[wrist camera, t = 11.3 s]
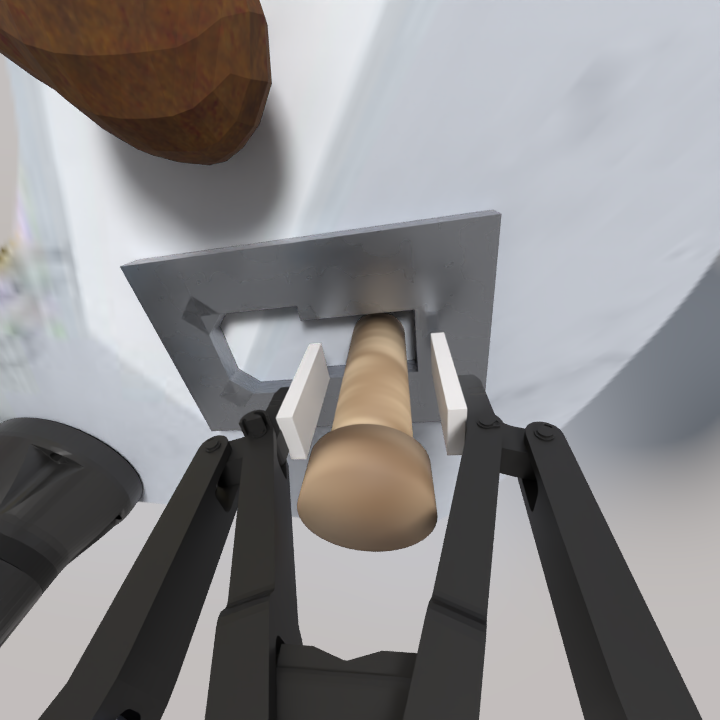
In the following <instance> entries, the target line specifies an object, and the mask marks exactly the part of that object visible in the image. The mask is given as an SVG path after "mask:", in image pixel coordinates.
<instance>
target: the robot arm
mask: <svg viewBox="0 0 720 720" xmlns="http://www.w3.org/2000/svg"><path fill="white" fill-rule="evenodd" d="M431 368H432V377H433V382H434V387H435V392H436V398H437V403H438V408H439V414H440V419H441V424H442V430H443V435H444V440H445V445H446V451H447V455H462V458H461V462H460V467H459V472H458V477H457V481H456V486H455V491H454V495H453V500H452V505H451V510H450V514H449V519H448V524H447V529H446V534H445V538H444V543H443V548H442V553H441V557H440V562H439V566H438V571H437V576H436V581H435V586H434V590H433V594H432V598H431V599H430V601H429V604H428V608H427V612H426V616H425V620H424V625H423V630H422V634H421V639H420V644H419V648H418V653H405V652H392V651H380V652H376V653H373V654H370V655H366V656H362V657H359V658H355V659H352V660H348V661H345V660H342V659H340V658H338V657H335V656H333V655H331V654H329V653H327V652H325V651H322V650H320V649H318V648H316V647H314V646H304V645H303V644H302V638H301V634H300V630H299V625H298V613H297V596H296V580H295V564H294V548H293V533H292V532H293V531H292V515H291V499H290V483H289V466H288V463H287V460H286V458H287V455H288V453H290V456H291V459H307V457H308V453H309V450H310V446H311V443H312V439H313V436H314V432H315V429H316V425H317V422H318V418H319V415H320V411H321V408H322V404H323V401H324V397H325V394H326V390H327V387H328V383H329V380H330V377H329V373H328V369H327V365H326V361H325V357H324V353H323V348H322V344H321V343H313V344H309V346H308V348H307V350H306V352H305V354H304V357H303V359H302V361H301V363H300V366H299V368H298V370H297V372H296V374H295V377H294V379H293V381H292V383H291V385H290V387H281V388H280V389H279V390H278V391H277V392H275V393H274V395H273V397H272V399H271V401H270V403H269V405H268V407H267V409H266V411H264V410H254V411H251V412H249V413H247V414H246V415H244V416H243V417H242V418H241V419H240V421H239V425H240V428H241V430H242V432H243V434H244V436H245V437H242V438H239V439H236V440H233V441H228V439H227V437H225V436H220V435H218V436H214V437H212V438H210V439H208V440H206V441H205V442H204V443H203V444H202V445H201V446H200V447H199V449H198V451H197V453H196V454H195V456H194V458H193V460H192V462H191V463H190V465H189V467H188V469H187V470H186V472H185V474H184V476H183V478H182V479H181V481H180V483H179V485H178V486H177V488H176V490H175V492H174V494H173V495H172V497H171V499H170V501H169V502H168V504H167V506H166V508H165V510H164V511H163V513H162V515H161V517H160V518H159V520H158V522H157V524H156V526H155V527H154V529H153V531H152V533H151V534H150V536H149V538H148V540H147V542H146V543H145V545H144V547H143V549H142V551H141V552H140V554H139V556H138V558H137V559H136V561H135V563H134V565H133V567H132V569H131V570H130V572H129V574H128V575H127V577H126V579H125V581H124V582H123V584H122V586H121V588H120V590H119V591H118V593H117V595H116V597H115V598H114V600H113V602H112V604H111V606H110V608H109V609H108V611H107V613H106V615H105V616H104V618H103V620H102V622H101V624H100V625H99V627H98V629H97V631H96V632H95V634H94V636H93V638H92V639H91V641H90V643H89V645H88V647H87V648H86V650H85V652H84V654H83V655H82V657H81V659H80V661H79V663H78V664H77V666H76V668H75V670H74V672H73V673H72V675H71V677H70V679H69V680H68V682H67V684H66V685H65V686H64V687H63V689H62V690H61V691H60V692H59V694H58V695H57V696H56V698H55V699H54V700H53V701H52V703H51V704H50V705H49V706H48V708H47V709H46V710H45V711H44V713H43V714H42V715H41V717H40V718H39V719H38V720H160V719H161V717H162V715H163V713H164V711H165V708H166V706H167V704H168V701H169V699H170V697H171V694H172V691H173V689H174V686H175V684H176V681H177V678H178V675H179V673H180V670H181V667H182V664H183V661H184V658H185V656H186V653H187V650H188V647H189V644H190V641H191V638H192V636H193V633H194V630H195V627H196V624H197V621H198V619H199V616H200V613H201V610H202V607H203V604H204V601H205V599H206V596H207V593H208V590H209V587H210V584H211V582H212V579H213V576H214V573H215V570H216V567H217V565H218V562H219V559H220V556H221V553H222V550H223V547H224V545H225V542H226V539H227V536H228V533H229V530H230V527H231V525H232V522H233V519H234V516H235V513H236V510H237V519H236V528H235V538H234V548H233V558H232V567H231V577H230V587H229V596H228V603H227V607H226V608H225V609H224V610H223V611H221V613H220V615H219V617H218V621H217V626H216V634H215V641H214V649H213V657H212V665H211V674H210V683H209V690H208V698H207V706H206V714H205V720H479V712H480V700H481V688H482V677H483V666H484V654H485V642H486V628H487V608H488V598H489V586H490V575H491V562H492V552H493V541H494V530H495V518H496V507H497V495H498V484H499V473H502V474H506V475H510V476H514V477H518V481H519V484H520V488H521V492H522V496H523V499H524V503H525V506H526V510H527V514H528V517H529V521H530V524H531V528H532V532H533V535H534V539H535V542H536V546H537V550H538V553H539V557H540V560H541V564H542V568H543V571H544V574H545V579H546V582H547V586H548V589H549V593H550V597H551V600H552V604H553V607H554V611H555V614H556V618H557V622H558V626H559V629H560V632H561V636H562V640H563V644H564V647H565V651H566V654H567V658H568V662H569V665H570V669H571V672H572V676H573V680H574V683H575V687H576V690H577V694H578V697H579V701H580V705H581V708H582V712H583V715H584V719H585V720H702V718H701V716H700V714H699V712H698V710H697V708H696V705H695V703H694V701H693V699H692V697H691V695H690V693H689V691H688V689H687V687H686V685H685V683H684V681H683V679H682V677H681V675H680V673H679V670H678V669H677V666H676V664H675V662H674V660H673V658H672V656H671V654H670V652H669V650H668V648H667V646H666V644H665V642H664V640H663V638H662V635H661V633H660V631H659V629H658V627H657V625H656V623H655V621H654V619H653V617H652V615H651V613H650V611H649V609H648V607H647V605H646V603H645V601H644V599H643V596H642V594H641V593H640V590H639V588H638V586H637V584H636V582H635V580H634V578H633V576H632V574H631V572H630V570H629V568H628V566H627V564H626V562H625V559H624V558H623V555H622V553H621V551H620V549H619V547H618V545H617V543H616V541H615V539H614V537H613V535H612V533H611V531H610V528H609V526H608V524H607V522H606V520H605V518H604V516H603V514H602V512H601V510H600V508H599V506H598V504H597V502H596V500H595V498H594V496H593V494H592V491H591V490H590V488H589V485H588V483H587V481H586V479H585V477H584V475H583V473H582V471H581V469H580V467H579V465H578V463H577V461H576V459H575V456H574V454H573V452H572V450H571V448H570V447H569V445H568V442H567V440H566V438H565V436H564V435H563V433H562V431H561V430H560V429H559V428H557V427H556V426H554V425H552V424H549V423H545V422H533V423H531V424H529V425H527V427H526V428H525V429H524V428H518V427H513V426H510V425H507V424H505V423H503V422H502V420H501V419H500V418H499V417H497V416H496V415H495V414H494V412H493V409H492V407H491V404H490V402H489V399H488V397H487V394H486V392H485V389H484V387H483V384H482V382H481V380H480V379H479V378H478V377H476V376H475V375H474V374H471V375H457V373H456V370H455V367H454V364H453V360H452V357H451V354H450V350H449V347H448V344H447V341H446V337H445V334H444V332H442V333H431ZM141 495H142V484H141V481H140V479H139V477H138V475H137V473H136V472H135V471H134V469H133V468H132V467H131V466H130V464H129V463H128V462H127V461H126V460H125V459H124V458H122V457H121V456H120V455H119V454H118V453H117V452H115V451H114V450H113V449H111V448H110V447H108V446H107V445H105V444H104V443H102V442H101V441H99V440H97V439H95V438H94V437H92V436H90V435H88V434H86V433H84V432H81V431H79V430H77V429H74V428H72V427H69V426H66V425H63V424H60V423H57V422H53V421H49V420H44V419H38V418H14V419H10V420H7V421H4V422H3V423H1V424H0V647H1V646H2V645H3V643H4V642H5V641H6V640H7V639H8V637H9V636H10V635H11V633H12V632H13V631H14V630H15V628H16V627H17V626H18V625H19V623H20V622H21V621H22V619H23V618H24V617H25V616H26V614H27V613H28V612H29V611H30V609H31V608H32V607H33V606H34V604H35V603H36V602H37V601H38V599H39V598H40V597H41V596H42V594H43V593H44V591H45V590H46V589H47V588H48V587H49V585H50V584H51V583H52V582H53V580H54V579H55V578H56V577H57V576H58V574H59V573H60V572H61V571H62V570H63V568H64V567H66V565H68V564H69V563H70V562H71V561H73V560H74V559H75V558H76V557H78V556H79V555H80V554H81V553H82V552H84V551H85V550H86V549H87V548H89V547H90V546H91V545H92V544H94V543H95V542H96V541H97V540H99V539H100V538H101V537H102V536H104V535H105V534H106V533H107V532H108V531H109V530H110V529H112V528H113V527H114V526H115V525H117V524H119V522H121V521H122V520H123V519H124V518H125V517H126V516H127V515H128V514H129V513H130V511H131V510H132V509H133V507H134V506H135V505H136V503H137V502H138V501H139V499H140V498H141ZM237 508H238V509H237Z"/></svg>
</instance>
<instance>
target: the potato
mask: <svg viewBox="0 0 720 720" xmlns="http://www.w3.org/2000/svg"><path fill="white" fill-rule="evenodd" d="M0 53H1V54H3V55H4V56H6V57H7V58H8V59H10V60H11V61H12V62H14V63H15V64H17V65H18V66H19V67H21V68H22V69H24V70H25V71H26V72H28V73H29V74H30V75H32V76H33V77H35V78H36V79H38V80H40V81H41V82H43V83H44V84H46V85H48V86H49V87H51V88H53V89H54V90H56V91H57V92H58V93H59V94H60V95H61V96H62V97H64V98H65V99H66V100H67V101H68V102H70V103H71V104H72V105H73V106H75V107H76V108H77V109H79V110H80V111H81V112H82V113H84V114H85V115H86V116H87V117H89V118H90V119H91V120H92V121H94V122H95V123H96V124H97V125H99V126H100V127H101V128H103V129H104V130H106V131H108V132H109V133H111V134H113V135H114V136H116V137H118V138H119V139H121V140H123V141H125V142H126V143H128V144H130V145H131V146H133V147H135V148H137V149H138V150H141V151H144V152H146V153H149V154H151V155H154V156H158V157H161V158H165V159H169V160H173V161H176V162H183V163H192V164H202V165H213V164H217V163H221V162H225V161H227V160H228V159H230V158H231V157H232V156H233V155H235V154H236V153H237V152H238V151H240V150H241V149H242V148H243V147H244V146H245V144H246V143H247V141H248V140H249V138H250V137H251V136H252V134H253V133H254V131H255V130H256V128H257V127H258V125H259V124H260V120H261V117H262V114H263V110H264V107H265V104H266V100H267V97H268V94H269V90H270V87H271V84H272V80H271V67H270V53H269V39H268V25H267V22H266V19H265V16H264V13H263V10H262V7H261V4H260V1H259V0H0Z"/></svg>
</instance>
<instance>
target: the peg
mask: <svg viewBox="0 0 720 720" xmlns="http://www.w3.org/2000/svg"><path fill="white" fill-rule="evenodd" d="M297 510H298V514H299V517H300V518H301V520H302V522H303V523H304V524H305V526H306V527H307V528H308V529H309V530H311V531H312V532H313V533H314V534H316V535H317V536H319V537H320V538H322V539H324V540H326V541H328V542H331V543H333V544H335V545H339V546H341V547H345V548H349V549H355V550H361V551H373V552H376V551H377V552H380V551H392V550H398V549H402V548H406V547H409V546H412V545H414V544H416V543H418V542H420V541H422V540H423V539H425V538H426V537H427V536H428V535H429V534H430V533H431V532H432V531H433V529H434V528H435V526H436V523H437V509H436V501H435V494H434V486H433V478H432V471H431V463H430V459H429V456H428V454H427V452H426V450H425V449H424V448H423V447H422V445H421V444H420V443H419V442H417V441H416V440H415V439H414V438H413V432H412V419H411V407H410V394H409V381H408V369H407V356H406V343H405V332H404V328H403V326H402V324H401V323H400V321H399V320H398V319H397V318H395V317H394V316H392V315H390V314H388V313H374V314H367V315H365V316H363V317H362V318H361V319H360V320H359V321H358V322H357V323H356V325H355V327H354V331H353V335H352V340H351V344H350V349H349V353H348V358H347V362H346V367H345V371H344V376H343V380H342V385H341V389H340V394H339V398H338V403H337V407H336V412H335V417H334V421H333V426H332V430H331V431H330V432H329V433H327V434H325V435H324V436H323V437H321V438H320V439H319V440H318V441H317V443H316V444H315V445H314V447H313V449H312V451H311V454H310V458H309V462H308V465H307V469H306V472H305V476H304V480H303V483H302V487H301V491H300V494H299V498H298V503H297Z"/></svg>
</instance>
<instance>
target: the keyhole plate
mask: <svg viewBox="0 0 720 720" xmlns="http://www.w3.org/2000/svg"><path fill="white" fill-rule="evenodd" d="M500 224H501V213H499V212H497V211H495V210H488V211H481V212H474V213H467V214H460V215H453V216H446V217H438V218H431V219H424V220H417V221H410V222H403V223H396V224H389V225H382V226H375V227H367V228H360V229H353V230H346V231H339V232H332V233H325V234H318V235H311V236H303V237H296V238H289V239H282V240H275V241H268V242H261V243H254V244H247V245H240V246H232V247H225V248H218V249H211V250H204V251H197V252H190V253H183V254H176V255H169V256H161V257H154V258H147V259H140V260H136V261H133V262H130V263H128V264H125V265H123V266H120V268H121V269H122V271H123V273H124V275H125V276H126V278H127V280H128V282H129V284H130V285H131V287H132V289H133V291H134V293H135V294H136V296H137V298H138V300H139V302H140V303H141V305H142V307H143V309H144V311H145V312H146V314H147V316H148V318H149V320H150V321H151V323H152V325H153V327H154V329H155V330H156V332H157V334H158V336H159V337H160V339H161V341H162V343H163V345H164V346H165V348H166V350H167V352H168V354H169V355H170V357H171V359H172V361H173V363H174V364H175V366H176V368H177V370H178V372H179V373H180V375H181V377H182V379H183V381H184V382H185V384H186V386H187V388H188V390H189V391H190V393H191V395H192V397H193V399H194V400H195V402H196V404H197V406H198V407H199V409H200V411H201V413H202V415H203V416H204V418H205V420H206V422H207V424H208V425H209V427H210V429H211V431H225V430H241V428H240V425H239V421H240V419H241V418H242V417H243V416H244V415H246V414H247V413H249V412H251V411H254V410H264V411H266V409H267V407H268V405H269V403H270V401H271V399H272V397H273V395H274V393H275V392H277V391H278V390H279V389H280V388H281V387H290V385H291V383H292V381H293V380H280V381H265V382H260V381H259V380H257V379H255V378H253V377H252V376H250V375H248V374H247V373H245V372H243V371H242V370H240V369H238V367H237V365H236V362H235V360H234V358H233V355H232V353H231V351H230V348H229V346H228V344H227V341H226V339H225V337H224V334H223V332H222V330H221V327H220V324H221V322H222V320H223V318H224V316H225V314H226V313H236V312H245V311H255V310H264V309H274V308H283V307H293V306H297V308H298V312H299V316H300V319H301V321H302V320H312V319H322V318H333V317H343V316H353V315H363V314H374V313H384V312H394V311H404V310H414V318H415V336H416V354H417V360H408V361H407V369H408V381H409V394H410V407H411V419H412V422H434V421H441V419H440V414H439V408H438V403H437V398H436V392H435V387H434V382H433V377H432V368H431V333H442V332H444V334H445V337H446V341H447V344H448V347H449V350H450V354H451V357H452V360H453V364H454V367H455V370H456V373H457V375H471V374H474V375H475V376H476V377H478V378H479V379H480V380H481V382H482V384H483V387H484V389H485V388H486V377H487V366H488V355H489V344H490V333H491V322H492V312H493V301H494V290H495V279H496V268H497V257H498V246H499V235H500ZM345 367H346V365H340V366H327V369H328V373H329V377H330V380H329V383H328V387H327V390H326V394H325V397H324V401H323V404H322V408H321V411H320V415H319V418H318V422H317V425H316V427H318V426H333V421H334V417H335V412H336V407H337V403H338V398H339V394H340V389H341V385H342V380H343V376H344V371H345Z"/></svg>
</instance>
